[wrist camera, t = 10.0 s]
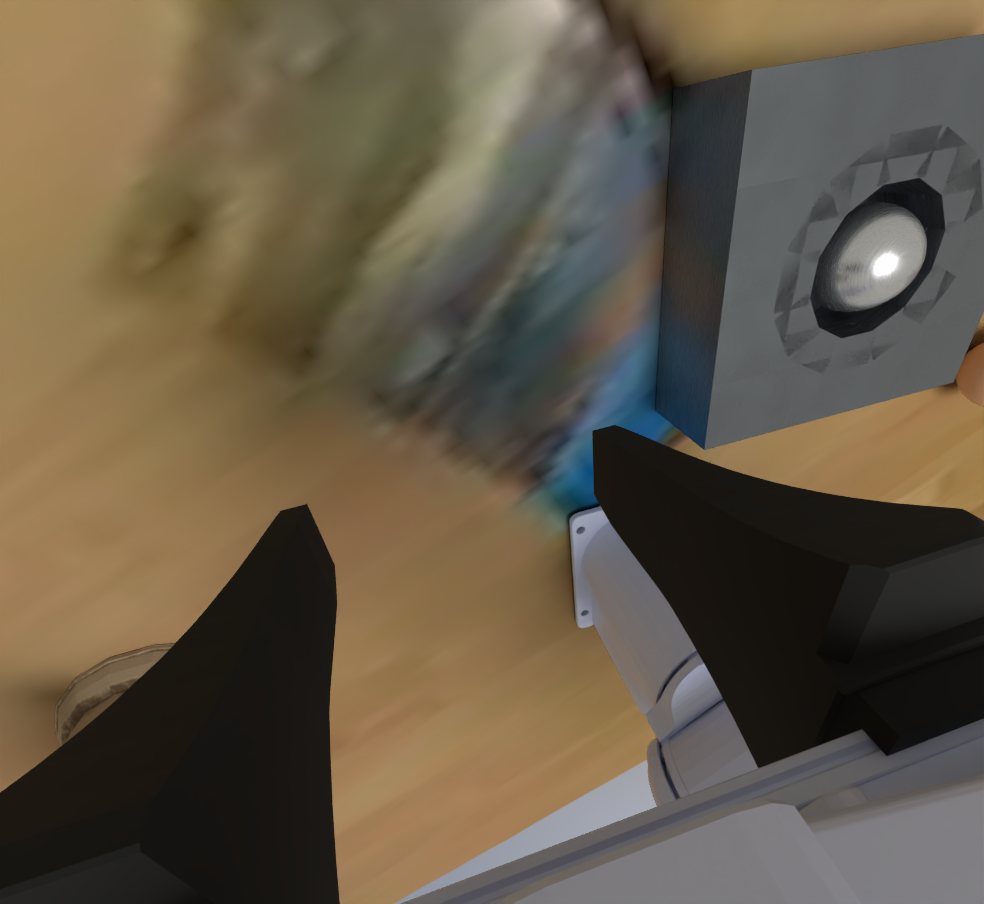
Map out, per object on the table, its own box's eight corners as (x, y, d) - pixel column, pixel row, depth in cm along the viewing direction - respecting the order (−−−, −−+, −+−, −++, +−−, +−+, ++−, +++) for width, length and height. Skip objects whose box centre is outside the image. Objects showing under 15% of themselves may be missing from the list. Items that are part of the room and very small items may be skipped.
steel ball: (849, 287, 22) (936, 309, 18) (769, 308, 21) (843, 334, 18) (871, 189, 19) (975, 194, 16) (783, 210, 19) (870, 219, 16)
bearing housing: (875, 354, 26) (953, 382, 22) (655, 410, 24) (704, 449, 20) (975, 41, 19) (1110, 14, 15) (673, 89, 17) (752, 69, 13)
